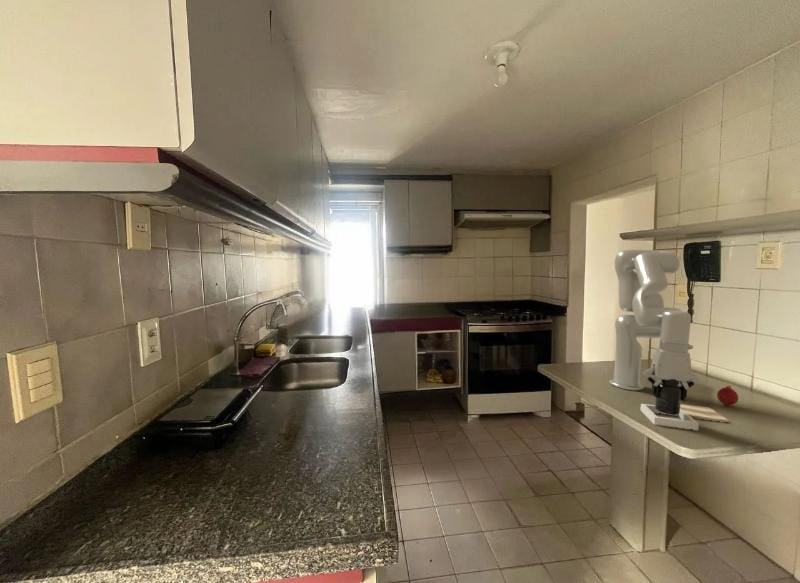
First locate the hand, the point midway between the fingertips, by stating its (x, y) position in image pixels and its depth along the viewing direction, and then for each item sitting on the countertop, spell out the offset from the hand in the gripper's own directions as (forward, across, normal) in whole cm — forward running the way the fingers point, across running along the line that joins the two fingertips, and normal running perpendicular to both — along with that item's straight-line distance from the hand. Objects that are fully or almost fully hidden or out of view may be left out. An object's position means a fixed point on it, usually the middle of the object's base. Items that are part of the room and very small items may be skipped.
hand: (668, 397), depth 116 cm
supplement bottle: (+5, 0, 0) cm, 5 cm away
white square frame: (+8, 0, +1) cm, 8 cm away
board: (+8, -13, -9) cm, 18 cm away
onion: (+8, -28, -22) cm, 37 cm away
